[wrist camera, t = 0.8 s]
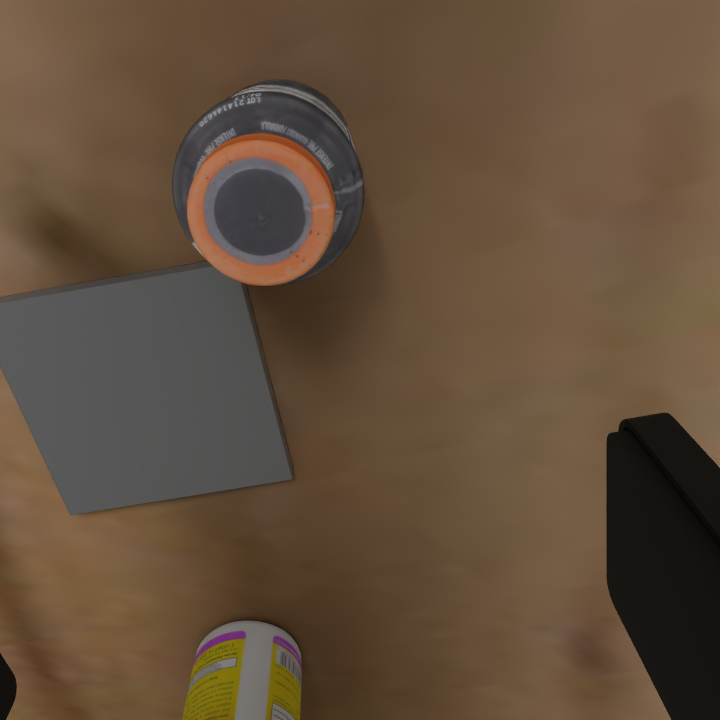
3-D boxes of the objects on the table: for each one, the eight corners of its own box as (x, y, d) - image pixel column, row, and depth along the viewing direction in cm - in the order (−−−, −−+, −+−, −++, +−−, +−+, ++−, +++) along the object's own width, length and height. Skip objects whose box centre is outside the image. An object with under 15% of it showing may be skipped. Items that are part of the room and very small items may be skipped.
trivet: (-17, 299, 29) (-28, 307, 28) (238, 255, 29) (235, 262, 28) (76, 503, 35) (70, 515, 34) (293, 468, 34) (292, 479, 33)
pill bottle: (270, 248, 29) (239, 358, 19) (184, 134, 27) (95, 189, 16) (380, 172, 28) (411, 246, 18) (299, 46, 25) (280, 47, 15)
